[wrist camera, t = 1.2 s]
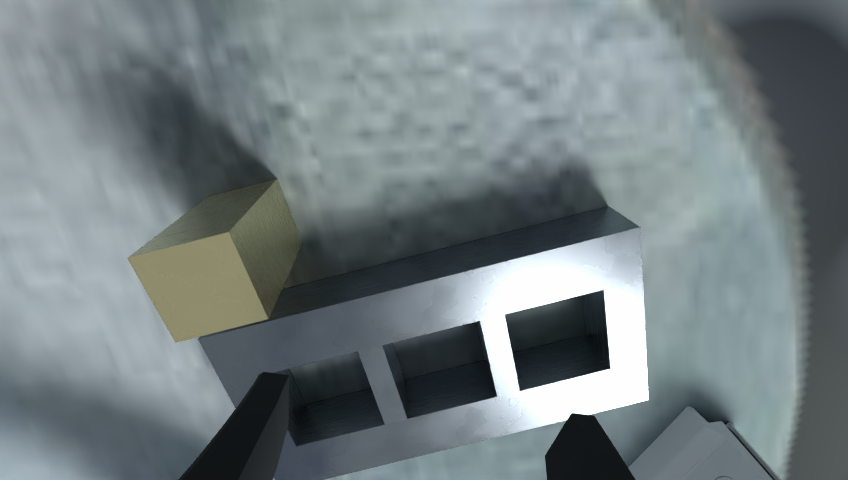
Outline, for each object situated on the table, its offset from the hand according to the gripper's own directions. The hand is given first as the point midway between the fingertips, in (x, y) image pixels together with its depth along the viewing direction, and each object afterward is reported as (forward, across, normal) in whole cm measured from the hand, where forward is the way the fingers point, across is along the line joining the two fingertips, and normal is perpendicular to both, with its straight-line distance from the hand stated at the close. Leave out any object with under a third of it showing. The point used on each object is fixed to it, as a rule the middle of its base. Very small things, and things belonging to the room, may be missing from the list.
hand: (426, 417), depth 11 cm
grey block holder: (+13, -2, +11) cm, 17 cm away
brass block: (+14, +9, +5) cm, 17 cm away
